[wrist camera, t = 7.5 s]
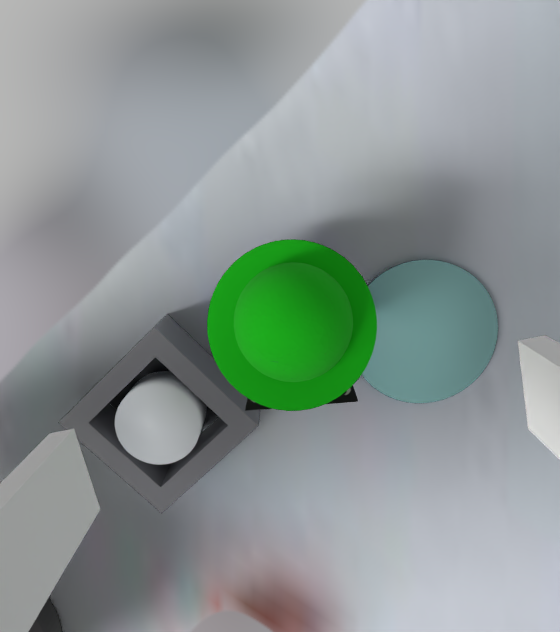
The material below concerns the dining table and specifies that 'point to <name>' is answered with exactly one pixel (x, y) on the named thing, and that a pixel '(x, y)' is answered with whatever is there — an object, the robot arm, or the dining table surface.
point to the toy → (292, 326)
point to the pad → (429, 331)
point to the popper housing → (201, 378)
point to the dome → (159, 419)
